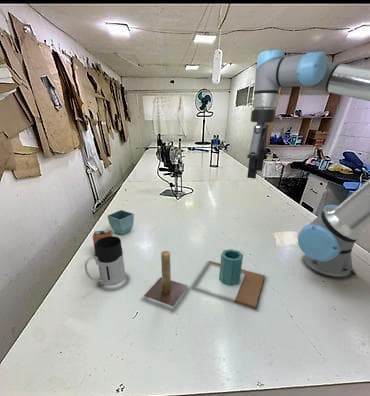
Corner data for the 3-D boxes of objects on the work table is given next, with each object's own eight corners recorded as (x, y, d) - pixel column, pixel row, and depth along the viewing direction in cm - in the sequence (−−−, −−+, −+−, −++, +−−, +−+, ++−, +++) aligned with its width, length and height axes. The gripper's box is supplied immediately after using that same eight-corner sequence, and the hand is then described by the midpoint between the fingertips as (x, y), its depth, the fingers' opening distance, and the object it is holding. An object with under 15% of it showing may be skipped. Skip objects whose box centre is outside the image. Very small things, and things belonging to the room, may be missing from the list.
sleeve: (241, 277, 79) (244, 252, 75) (236, 289, 74) (239, 262, 70) (223, 272, 82) (225, 247, 78) (217, 283, 77) (219, 257, 73)
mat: (264, 277, 81) (264, 275, 81) (255, 308, 68) (256, 306, 68) (209, 263, 89) (209, 260, 89) (192, 288, 76) (192, 286, 75)
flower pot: (122, 238, 106) (120, 219, 103) (108, 233, 111) (106, 215, 107) (135, 230, 113) (134, 213, 109) (122, 226, 117) (121, 209, 114)
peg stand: (188, 289, 75) (188, 248, 69) (173, 310, 67) (172, 266, 61) (161, 280, 79) (159, 241, 73) (144, 299, 71) (140, 257, 65)
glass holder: (132, 277, 81) (128, 238, 74) (102, 304, 69) (95, 261, 63) (112, 270, 84) (107, 233, 78) (81, 295, 72) (71, 253, 66)
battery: (113, 255, 93) (110, 232, 89) (95, 256, 92) (91, 234, 88) (114, 249, 97) (111, 227, 93) (97, 250, 96) (93, 229, 92)
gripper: (258, 110, 88) (251, 166, 97) (243, 107, 68) (236, 180, 76) (279, 110, 85) (270, 168, 94) (270, 107, 65) (260, 183, 74)
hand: (255, 174), depth 85 cm, fingers open, 13 cm apart
